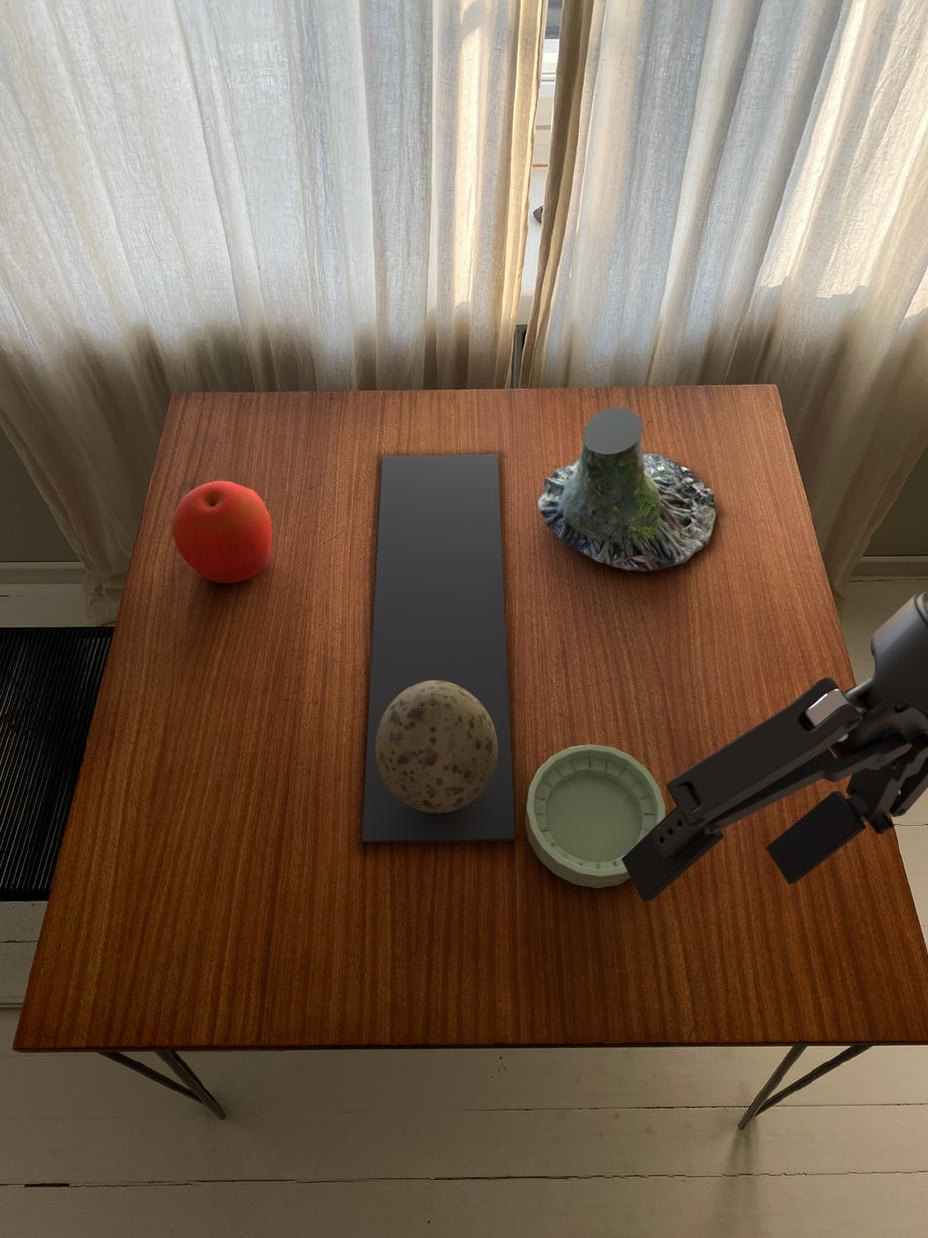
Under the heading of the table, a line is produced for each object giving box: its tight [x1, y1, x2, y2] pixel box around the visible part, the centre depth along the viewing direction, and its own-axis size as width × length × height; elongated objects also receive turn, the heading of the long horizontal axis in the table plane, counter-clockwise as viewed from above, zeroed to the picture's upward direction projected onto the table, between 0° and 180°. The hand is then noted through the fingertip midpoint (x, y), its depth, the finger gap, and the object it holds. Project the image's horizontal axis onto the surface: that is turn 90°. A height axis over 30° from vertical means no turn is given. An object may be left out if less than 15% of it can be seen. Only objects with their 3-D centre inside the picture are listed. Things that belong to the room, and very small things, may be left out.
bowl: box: [524, 744, 666, 889], centre depth 79 cm, size 12×12×4 cm
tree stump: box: [537, 406, 718, 573], centre depth 95 cm, size 18×20×18 cm
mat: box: [361, 454, 516, 844], centre depth 93 cm, size 48×14×1 cm, turn 1°
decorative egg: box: [376, 680, 498, 813], centre depth 76 cm, size 11×11×15 cm
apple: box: [170, 480, 273, 584], centre depth 93 cm, size 10×10×12 cm
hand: (713, 872), depth 54 cm, fingers open, 13 cm apart
